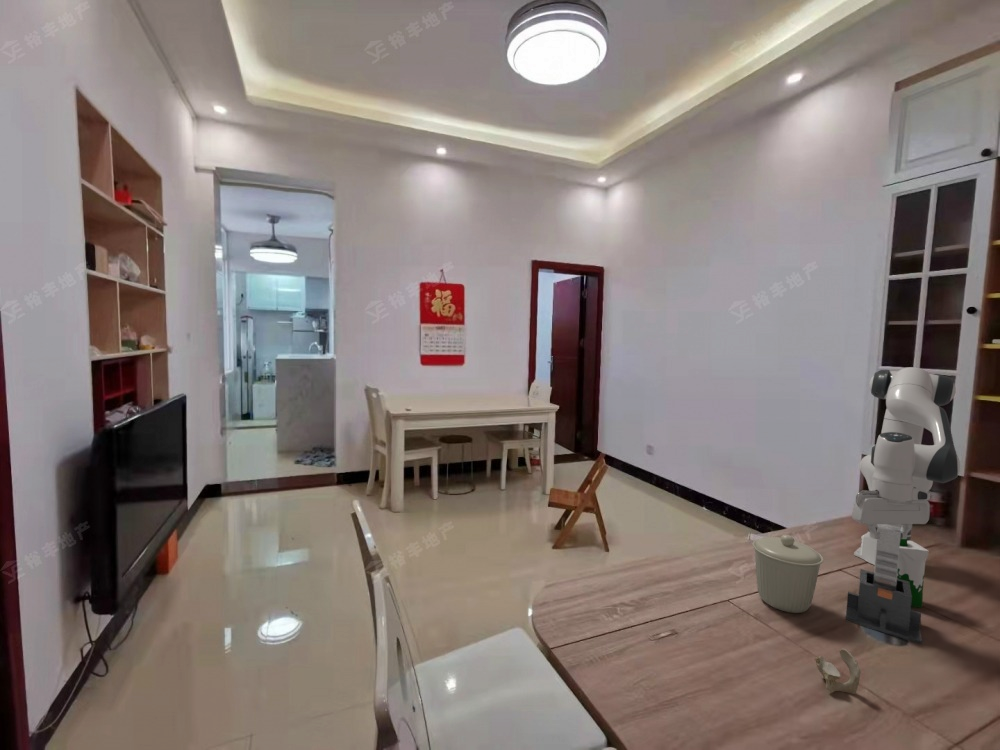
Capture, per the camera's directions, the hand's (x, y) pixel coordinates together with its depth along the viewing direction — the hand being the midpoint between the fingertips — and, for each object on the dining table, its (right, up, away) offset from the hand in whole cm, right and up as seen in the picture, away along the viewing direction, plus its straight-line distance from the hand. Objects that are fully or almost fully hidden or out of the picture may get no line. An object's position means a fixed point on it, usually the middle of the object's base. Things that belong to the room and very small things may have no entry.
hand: (888, 538), depth 129 cm
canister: (-25, -23, +8) cm, 35 cm away
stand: (-1, -24, +1) cm, 24 cm away
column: (-1, -21, +1) cm, 21 cm away
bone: (-35, -25, -26) cm, 50 cm away
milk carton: (+15, -24, +12) cm, 31 cm away
